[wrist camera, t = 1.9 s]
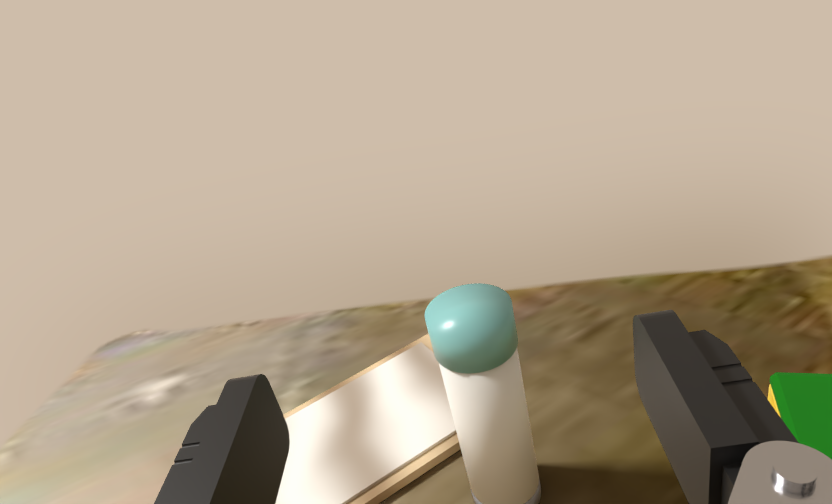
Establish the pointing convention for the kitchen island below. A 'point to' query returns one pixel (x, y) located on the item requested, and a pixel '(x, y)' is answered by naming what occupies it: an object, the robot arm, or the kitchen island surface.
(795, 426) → the dish sponge
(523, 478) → the bottle
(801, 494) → the robot arm
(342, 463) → the clipboard
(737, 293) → the kitchen island surface
